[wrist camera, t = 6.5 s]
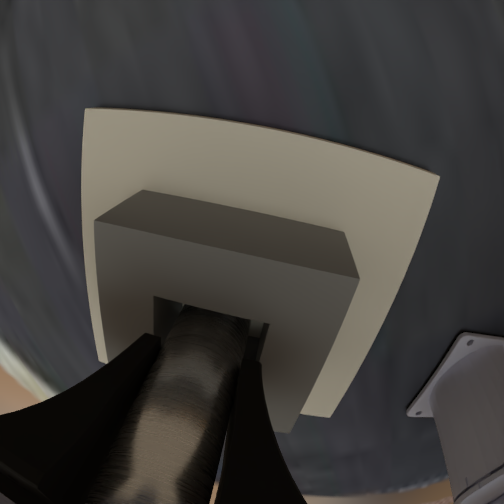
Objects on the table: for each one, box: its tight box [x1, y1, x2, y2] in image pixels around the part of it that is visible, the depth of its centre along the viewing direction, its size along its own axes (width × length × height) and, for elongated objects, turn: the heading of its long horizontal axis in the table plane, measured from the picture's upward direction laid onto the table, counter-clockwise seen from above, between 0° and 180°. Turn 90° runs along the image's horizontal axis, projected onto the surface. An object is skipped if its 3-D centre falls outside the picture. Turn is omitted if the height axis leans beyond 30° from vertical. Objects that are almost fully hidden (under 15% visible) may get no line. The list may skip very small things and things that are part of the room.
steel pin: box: [85, 304, 251, 504], centre depth 9 cm, size 3×3×10 cm
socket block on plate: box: [81, 107, 440, 433], centre depth 14 cm, size 16×16×5 cm
